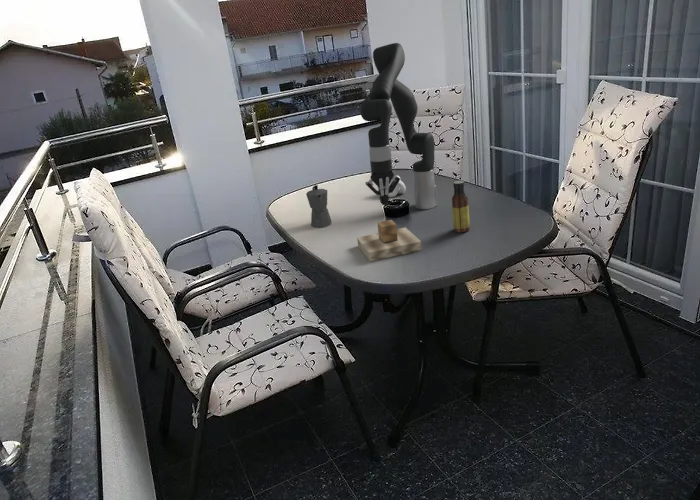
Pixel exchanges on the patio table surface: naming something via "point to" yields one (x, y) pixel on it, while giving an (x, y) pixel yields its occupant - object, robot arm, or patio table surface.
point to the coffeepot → (318, 207)
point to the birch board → (388, 245)
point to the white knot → (398, 188)
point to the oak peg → (387, 231)
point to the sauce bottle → (460, 208)
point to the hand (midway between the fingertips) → (384, 204)
